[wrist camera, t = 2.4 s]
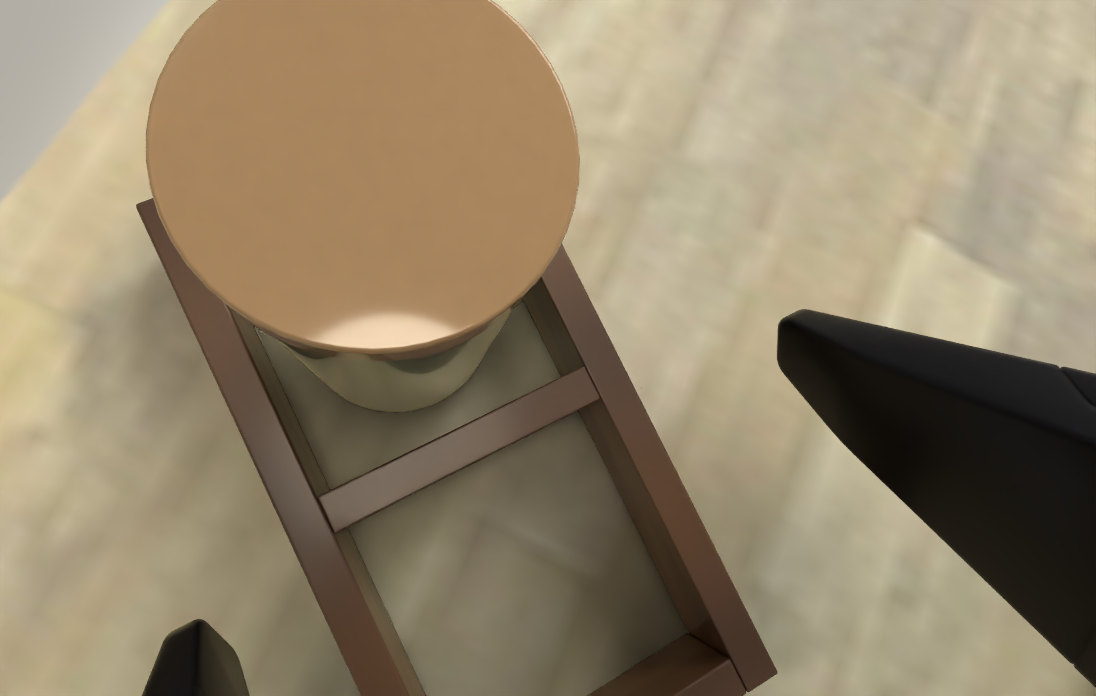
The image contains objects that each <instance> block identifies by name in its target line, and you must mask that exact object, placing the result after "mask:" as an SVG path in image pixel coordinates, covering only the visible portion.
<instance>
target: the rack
mask: <svg viewBox="0 0 1096 696" xmlns="http://www.w3.org/2000/svg"><path fill="white" fill-rule="evenodd" d="M136 208H137V210H138V213H139V215H140V217H141V219H142V221H143V223H144V226H145V228H146V230H147V232H148V234H149V236H150V239H151V241H152V243H153V245H154V247H155V249H156V252H157V254H158V256H159V258H160V260H161V263H162V265H163V267H164V269H165V271H166V273H167V276H168V278H169V280H170V282H171V284H172V286H173V289H174V291H175V293H176V295H177V297H178V299H179V302H180V304H181V306H182V308H183V310H184V313H185V315H186V317H187V319H188V321H189V323H190V326H191V328H192V330H193V332H194V334H195V336H196V339H197V341H198V343H199V345H200V347H201V349H202V352H203V354H204V356H205V358H206V360H207V362H208V365H209V367H210V369H211V371H212V373H213V376H214V378H215V380H216V382H217V384H218V386H219V389H220V391H221V393H222V395H223V397H224V399H225V402H226V404H227V406H228V408H229V410H230V412H231V415H232V417H233V419H234V421H235V423H236V426H237V428H238V430H239V432H240V434H241V436H242V439H243V441H244V443H245V445H246V447H247V449H248V452H249V454H250V456H251V458H252V460H253V462H254V465H255V467H256V469H257V471H258V473H259V476H260V478H261V480H262V482H263V484H264V486H265V489H266V491H267V493H268V495H269V497H270V499H271V502H272V504H273V506H274V508H275V510H276V512H277V515H278V517H279V519H280V521H281V523H282V526H283V528H284V530H285V532H286V534H287V536H288V539H289V541H290V543H291V545H292V547H293V549H294V552H295V554H296V556H297V558H298V560H299V562H300V565H301V567H302V569H303V571H304V573H305V576H306V578H307V580H308V582H309V584H310V586H311V589H312V591H313V593H314V595H315V597H316V599H317V602H318V604H319V606H320V608H321V610H322V612H323V615H324V617H325V619H326V621H327V623H328V626H329V628H330V630H331V632H332V634H333V636H334V639H335V641H336V643H337V645H338V647H339V649H340V652H341V654H342V656H343V658H344V660H345V662H346V665H347V667H348V669H349V671H350V673H351V675H352V678H353V680H354V682H355V684H356V686H357V689H358V691H359V693H360V695H361V696H426V695H425V693H424V691H423V689H422V687H421V684H420V682H419V680H418V678H417V676H416V674H415V672H414V669H413V667H412V665H411V663H410V661H409V659H408V657H407V654H406V652H405V650H404V648H403V646H402V644H401V642H400V639H399V637H398V635H397V633H396V631H395V629H394V627H393V624H392V622H391V620H390V618H389V616H388V614H387V612H386V609H385V607H384V605H383V603H382V601H381V599H380V597H379V594H378V592H377V590H376V588H375V586H374V584H373V582H372V579H371V577H370V575H369V573H368V571H367V569H366V567H365V564H364V562H363V560H362V558H361V556H360V554H359V552H358V549H357V547H356V545H355V543H354V541H353V539H352V537H351V534H350V532H349V530H348V528H347V527H349V526H351V525H353V524H355V523H357V522H359V521H361V520H363V519H365V518H367V517H369V516H371V515H373V514H375V513H377V512H379V511H381V510H383V509H385V508H387V507H389V506H391V505H393V504H395V503H396V502H398V501H400V500H402V499H404V498H406V497H408V496H410V495H412V494H414V493H416V492H418V491H420V490H422V489H424V488H426V487H428V486H430V485H432V484H434V483H436V482H438V481H440V480H442V479H444V478H446V477H448V476H450V475H452V474H454V473H456V472H458V471H460V470H462V469H464V468H466V467H468V466H469V465H471V464H473V463H475V462H477V461H479V460H481V459H483V458H485V457H487V456H489V455H491V454H493V453H495V452H497V451H499V450H501V449H503V448H505V447H507V446H509V445H511V444H513V443H515V442H517V441H519V440H521V439H523V438H525V437H527V436H529V435H531V434H533V433H535V432H537V431H539V430H541V429H542V428H544V427H546V426H548V425H550V424H552V423H554V422H556V421H558V420H560V419H562V418H564V417H566V416H568V415H570V414H572V413H574V412H576V411H579V413H580V415H581V417H582V419H583V421H584V423H585V425H586V427H587V429H588V431H589V433H590V435H591V437H592V439H593V441H594V443H595V445H596V447H597V449H598V451H599V453H600V455H601V457H602V459H603V461H604V463H605V465H606V467H607V469H608V471H609V473H610V475H611V477H612V479H613V481H614V483H615V485H616V487H617V489H618V491H619V493H620V495H621V497H622V499H623V501H624V503H625V505H626V507H627V509H628V511H629V513H630V515H631V517H632V520H633V522H634V524H635V526H636V528H637V530H638V532H639V534H640V536H641V538H642V540H643V542H644V544H645V546H646V548H647V550H648V552H649V554H650V556H651V558H652V560H653V562H654V564H655V566H656V568H657V570H658V572H659V574H660V576H661V578H662V580H663V582H664V584H665V586H666V588H667V590H668V592H669V594H670V596H671V598H672V600H673V602H674V604H675V606H676V608H677V610H678V612H679V614H680V616H681V618H682V620H683V622H684V624H685V626H686V628H687V630H688V632H689V634H686V635H684V636H683V637H681V638H679V639H678V640H676V641H674V642H673V643H671V644H670V645H668V646H666V647H665V648H663V649H662V650H660V651H658V652H657V653H655V654H654V655H652V656H650V657H649V658H647V659H645V660H644V661H642V662H641V663H639V664H637V665H636V666H634V667H633V668H631V669H629V670H628V671H626V672H625V673H623V674H621V675H620V676H618V677H616V678H615V679H613V680H612V681H610V682H608V683H607V684H605V685H604V686H602V687H600V688H599V689H597V690H595V691H594V692H592V693H591V694H589V695H587V696H743V695H745V694H746V691H747V692H750V691H751V690H753V689H754V688H756V687H757V686H759V685H760V684H762V683H763V682H765V681H767V680H768V679H770V678H771V677H773V676H774V675H776V674H777V670H776V668H775V666H774V664H773V662H772V660H771V658H770V656H769V654H768V652H767V650H766V648H765V646H764V644H763V642H762V640H761V638H760V636H759V634H758V632H757V630H756V628H755V626H754V624H753V622H752V620H751V618H750V616H749V614H748V612H747V610H746V608H745V606H744V605H743V603H742V601H741V599H740V597H739V595H738V593H737V591H736V589H735V587H734V585H733V583H732V581H731V579H730V577H729V575H728V573H727V571H726V569H725V567H724V565H723V563H722V561H721V559H720V557H719V555H718V553H717V551H716V549H715V547H714V545H713V543H712V541H711V539H710V537H709V535H708V533H707V531H706V529H705V527H704V525H703V523H702V521H701V519H700V517H699V515H698V513H697V511H696V509H695V507H694V505H693V503H692V501H691V499H690V497H689V495H688V493H687V491H686V489H685V487H684V485H683V483H682V481H681V479H680V477H679V475H678V473H677V471H676V469H675V467H674V466H673V464H672V462H671V460H670V458H669V456H668V454H667V452H666V450H665V448H664V446H663V444H662V442H661V440H660V438H659V436H658V434H657V432H656V430H655V428H654V426H653V424H652V422H651V420H650V418H649V416H648V414H647V412H646V410H645V408H644V406H643V404H642V402H641V400H640V398H639V396H638V394H637V392H636V390H635V388H634V386H633V384H632V382H631V380H630V378H629V376H628V374H627V372H626V370H625V368H624V366H623V364H622V362H621V360H620V358H619V356H618V354H617V352H616V350H615V348H614V346H613V344H612V342H611V340H610V338H609V336H608V334H607V332H606V330H605V328H604V327H603V325H602V323H601V321H600V319H599V317H598V315H597V313H596V311H595V309H594V307H593V305H592V303H591V301H590V299H589V297H588V295H587V293H586V291H585V289H584V287H583V285H582V283H581V281H580V279H579V277H578V275H577V273H576V271H575V269H574V267H573V265H572V263H571V261H570V259H569V257H568V255H567V253H566V251H565V249H564V247H563V245H562V243H561V245H560V247H559V249H558V251H557V253H556V255H555V256H554V258H553V259H552V261H551V262H550V264H549V265H548V267H547V268H546V270H545V271H544V273H543V274H542V276H541V277H540V279H539V280H538V282H537V283H536V285H535V286H534V288H533V289H532V290H531V291H530V292H529V293H528V294H527V295H526V297H525V298H524V299H523V300H524V302H525V304H526V306H527V308H528V310H529V312H530V314H531V316H532V318H533V320H534V322H535V324H536V326H537V328H538V330H539V332H540V334H541V336H542V338H543V340H544V342H545V344H546V346H547V348H548V350H549V352H550V354H551V356H552V358H553V360H554V362H555V364H556V366H557V368H558V370H559V372H560V375H561V378H559V379H557V380H555V381H553V382H550V383H548V384H546V385H544V386H542V387H540V388H538V389H536V390H534V391H532V392H530V393H528V394H526V395H524V396H522V397H520V398H518V399H516V400H514V401H512V402H510V403H508V404H506V405H504V406H502V407H500V408H497V409H495V410H493V411H491V412H489V413H487V414H485V415H483V416H481V417H479V418H477V419H475V420H473V421H471V422H469V423H467V424H465V425H463V426H461V427H459V428H457V429H455V430H453V431H451V432H449V433H447V434H444V435H442V436H440V437H438V438H436V439H434V440H432V441H430V442H428V443H426V444H424V445H422V446H420V447H418V448H416V449H414V450H412V451H410V452H408V453H406V454H404V455H402V456H400V457H398V458H396V459H394V460H391V461H389V462H387V463H385V464H383V465H381V466H379V467H377V468H375V469H373V470H371V471H369V472H367V473H365V474H363V475H361V476H359V477H357V478H355V479H353V480H351V481H349V482H347V483H345V484H343V485H341V486H338V487H336V488H334V489H332V490H330V489H329V487H328V485H327V483H326V481H325V479H324V477H323V474H322V472H321V470H320V468H319V466H318V464H317V462H316V459H315V457H314V455H313V453H312V451H311V449H310V447H309V444H308V442H307V440H306V438H305V436H304V434H303V432H302V429H301V427H300V425H299V423H298V421H297V419H296V417H295V414H294V412H293V410H292V408H291V406H290V404H289V402H288V399H287V397H286V395H285V393H284V391H283V389H282V387H281V384H280V382H279V380H278V378H277V376H276V374H275V372H274V369H273V367H272V365H271V363H270V361H269V359H268V357H267V354H266V352H265V350H264V348H263V346H262V344H261V342H260V339H259V337H258V335H257V333H256V331H255V329H254V327H253V324H251V323H250V322H248V321H247V320H245V319H243V318H242V317H241V316H240V315H238V314H237V313H236V312H235V311H234V310H233V309H231V308H230V307H229V306H228V305H227V304H226V303H224V302H223V301H222V300H221V299H220V298H219V297H217V296H216V295H215V294H214V293H213V292H212V291H210V290H209V289H208V288H207V287H206V286H205V285H204V284H203V283H202V281H201V280H200V279H199V278H198V277H197V276H196V275H195V274H194V272H193V271H192V270H191V269H190V268H189V267H188V266H187V264H186V263H185V261H184V260H183V258H182V257H181V255H180V254H179V252H178V251H177V249H176V248H175V246H174V245H173V243H172V242H171V240H170V238H169V236H168V234H167V232H166V230H165V227H164V225H163V223H162V221H161V219H160V217H159V215H158V212H157V208H156V205H155V202H154V199H153V198H152V199H150V200H147V201H144V202H141V203H139V204H137V205H136Z"/></svg>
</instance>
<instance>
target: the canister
mask: <svg viewBox="0 0 1096 696" xmlns="http://www.w3.org/2000/svg"><path fill="white" fill-rule="evenodd" d="M146 164H147V170H148V177H149V183H150V189H151V192H152V196H153V199H154V202H155V205H156V208H157V212H158V215H159V217H160V219H161V221H162V223H163V225H164V227H165V230H166V232H167V234H168V236H169V238H170V240H171V242H172V243H173V245H174V246H175V248H176V249H177V251H178V252H179V254H180V255H181V257H182V258H183V260H184V261H185V263H186V264H187V266H188V267H189V268H190V269H191V270H192V271H193V272H194V274H195V275H196V276H197V277H198V278H199V279H200V280H201V281H202V283H203V284H204V285H205V286H206V287H207V288H208V289H209V290H210V291H212V292H213V293H214V294H215V295H216V296H217V297H219V298H220V299H221V300H222V301H223V302H224V303H226V304H227V305H228V306H229V307H230V308H231V309H233V310H234V311H235V312H236V313H237V314H238V315H240V316H241V317H242V318H243V319H245V320H247V321H248V322H250V323H251V324H253V325H254V326H256V327H257V328H259V329H260V330H262V331H263V332H265V333H267V334H269V335H271V336H273V337H274V338H275V339H277V340H278V341H279V342H280V343H281V344H282V345H283V346H284V347H285V348H287V349H288V350H289V351H290V352H291V353H292V354H293V355H294V356H295V357H297V358H298V359H299V360H300V361H301V362H302V363H303V364H304V365H305V366H307V367H308V368H309V369H310V370H311V371H312V372H313V373H314V374H315V375H317V376H318V377H319V378H320V379H321V380H322V381H323V382H324V383H325V384H326V385H328V386H329V387H330V388H331V389H332V390H333V391H335V392H336V393H337V394H339V395H340V396H342V397H343V398H345V399H346V400H348V401H350V402H352V403H354V404H356V405H359V406H362V407H365V408H368V409H371V410H376V411H382V412H409V411H414V410H419V409H423V408H426V407H428V406H431V405H434V404H436V403H438V402H440V401H442V400H444V399H445V398H447V397H448V396H450V395H451V394H453V393H454V392H455V391H457V390H458V389H459V388H460V387H461V386H462V385H463V384H464V383H465V382H466V381H467V380H468V379H469V378H470V376H471V375H472V374H473V372H474V371H475V369H476V368H477V366H478V365H479V363H480V361H481V360H482V358H483V357H484V355H485V353H486V352H487V350H488V349H489V347H490V345H491V344H492V342H493V341H494V339H495V337H496V336H497V334H498V333H499V331H500V329H501V328H502V326H503V325H504V323H505V321H506V320H507V318H508V317H509V315H510V313H511V312H512V310H513V309H514V308H515V307H516V306H517V305H518V304H519V303H520V302H521V301H522V300H523V299H524V298H525V297H526V295H527V294H528V293H529V292H530V291H531V290H532V289H533V288H534V286H535V285H536V283H537V282H538V280H539V279H540V277H541V276H542V274H543V273H544V271H545V270H546V268H547V267H548V265H549V264H550V262H551V261H552V259H553V258H554V256H555V255H556V253H557V251H558V249H559V247H560V245H561V243H562V241H563V239H564V237H565V234H566V232H567V230H568V227H569V224H570V221H571V217H572V214H573V211H574V208H575V203H576V197H577V191H578V186H579V167H580V156H579V146H578V136H577V131H576V126H575V122H574V118H573V114H572V110H571V107H570V104H569V102H568V99H567V96H566V94H565V91H564V88H563V86H562V84H561V82H560V80H559V78H558V76H557V74H556V72H555V71H554V69H553V67H552V65H551V63H550V62H549V60H548V59H547V57H546V56H545V54H544V53H543V52H542V50H541V49H540V47H539V46H538V44H537V43H536V42H535V41H534V40H533V38H532V37H531V36H530V35H529V34H528V33H527V32H526V31H525V29H524V28H523V27H522V26H521V25H520V24H519V23H518V22H517V21H516V20H515V19H514V18H512V17H511V16H510V15H509V14H508V13H507V12H506V11H505V10H503V9H502V8H501V7H500V6H499V5H497V4H496V3H494V2H493V1H492V0H218V1H217V2H216V3H214V4H213V5H212V6H211V7H210V8H208V9H207V10H206V11H205V12H204V13H203V14H202V15H201V16H200V17H199V18H198V19H197V20H196V21H195V22H194V23H193V24H192V26H191V27H190V28H189V29H188V30H187V31H186V32H185V33H184V35H183V36H182V38H181V39H180V41H179V42H178V44H177V45H176V47H175V48H174V50H173V51H172V52H171V54H170V56H169V58H168V60H167V62H166V64H165V66H164V68H163V70H162V72H161V74H160V76H159V78H158V81H157V85H156V88H155V91H154V94H153V97H152V101H151V104H150V110H149V116H148V123H147V129H146Z"/></svg>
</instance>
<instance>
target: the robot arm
mask: <svg viewBox="0 0 1096 696" xmlns="http://www.w3.org/2000/svg"><path fill="white" fill-rule="evenodd" d="M777 361H778V364H779V367H780V369H781V370H782V372H783V373H784V375H785V376H786V377H787V378H788V379H789V381H790V382H791V383H792V384H793V385H794V387H795V388H796V389H797V390H798V391H799V392H800V394H801V395H802V396H803V397H804V398H805V400H806V401H807V402H808V403H809V404H810V406H811V407H812V408H813V409H814V410H815V412H816V413H817V414H818V415H819V416H820V417H821V419H822V420H823V421H824V422H825V423H826V425H827V426H828V427H829V428H830V429H831V431H832V432H833V433H834V434H835V435H836V436H837V437H838V438H839V440H840V441H841V442H842V443H843V444H844V445H845V446H846V447H847V448H848V449H849V450H850V451H851V452H852V453H853V454H854V455H855V456H856V457H857V458H858V459H859V460H860V461H861V462H862V463H863V464H865V465H866V466H867V467H868V468H869V469H870V470H871V471H872V472H873V473H874V474H875V475H876V476H877V477H878V478H879V479H880V480H881V481H882V482H883V483H884V484H885V485H886V486H887V487H888V488H889V489H890V490H892V491H893V492H894V493H895V494H896V495H897V496H898V497H899V498H900V499H901V500H902V501H903V502H904V503H905V504H906V505H907V506H908V507H909V508H910V509H911V510H912V511H913V512H914V513H915V514H916V515H917V516H919V517H920V518H921V519H922V520H923V521H924V522H925V523H926V524H927V525H928V526H929V527H930V528H931V529H932V530H933V531H934V532H935V533H936V534H937V535H938V536H939V537H940V538H941V539H942V540H943V541H944V542H946V543H947V544H948V545H949V546H950V547H951V548H952V549H953V550H954V551H955V552H956V553H957V554H958V555H959V556H960V557H961V558H962V559H963V560H964V561H965V562H966V563H967V564H968V565H969V566H970V567H971V568H973V569H974V570H975V571H976V572H977V573H978V574H979V575H980V576H981V577H982V578H983V579H984V580H985V581H986V582H987V583H988V584H989V585H990V586H991V587H992V588H993V589H994V590H995V591H996V592H997V593H998V594H1000V595H1001V596H1002V597H1003V598H1004V599H1005V600H1006V601H1007V602H1008V603H1009V604H1010V605H1011V606H1012V607H1013V608H1014V609H1015V610H1016V611H1017V612H1018V613H1019V614H1020V615H1021V616H1022V617H1023V618H1024V619H1025V620H1027V621H1028V622H1029V623H1030V624H1031V625H1032V626H1033V627H1034V628H1035V629H1036V630H1037V631H1038V632H1039V633H1040V634H1041V635H1042V636H1043V637H1044V638H1045V639H1046V640H1047V641H1048V642H1049V643H1050V644H1051V645H1052V646H1054V647H1055V648H1056V649H1057V650H1058V651H1059V652H1060V653H1061V654H1062V655H1063V656H1064V657H1065V658H1066V659H1067V660H1068V661H1069V662H1070V663H1072V664H1074V667H1075V668H1076V669H1077V670H1078V671H1079V672H1080V673H1081V674H1082V675H1083V676H1084V677H1085V678H1086V679H1087V680H1088V681H1089V682H1090V683H1091V684H1092V685H1093V686H1095V687H1096V374H1094V373H1090V372H1085V371H1081V370H1076V369H1072V368H1068V367H1061V368H1059V367H1058V366H1057V365H1054V364H1049V363H1045V362H1040V361H1036V360H1031V359H1027V358H1022V357H1018V356H1013V355H1009V354H1004V353H1000V352H995V351H991V350H986V349H982V348H977V347H973V346H969V345H964V344H960V343H955V342H951V341H946V340H942V339H937V338H933V337H928V336H924V335H919V334H915V333H910V332H906V331H901V330H897V329H893V328H888V327H884V326H879V325H875V324H870V323H866V322H861V321H857V320H852V319H848V318H843V317H839V316H834V315H830V314H825V313H821V312H817V311H812V310H806V309H802V310H798V311H796V312H794V313H792V314H790V315H788V316H786V317H785V318H783V319H782V320H781V321H780V323H779V325H778V340H777ZM142 696H250V695H249V692H248V688H247V685H246V681H245V678H244V674H243V671H242V667H241V664H240V661H239V659H238V656H237V654H236V652H235V651H234V649H233V648H232V647H231V646H230V645H229V644H228V643H227V642H226V641H225V640H224V639H223V638H222V637H221V636H220V635H219V634H218V633H217V632H216V631H215V630H214V629H213V628H212V627H211V626H210V625H209V624H208V623H207V622H206V621H204V620H202V619H197V620H194V621H192V622H190V623H188V624H186V625H184V626H182V627H180V628H178V629H176V630H174V631H172V632H171V633H169V634H168V635H167V637H166V638H165V640H164V641H163V644H162V646H161V649H160V651H159V654H158V656H157V659H156V661H155V664H154V666H153V669H152V671H151V674H150V676H149V679H148V681H147V684H146V686H145V689H144V691H143V694H142Z"/></svg>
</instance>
